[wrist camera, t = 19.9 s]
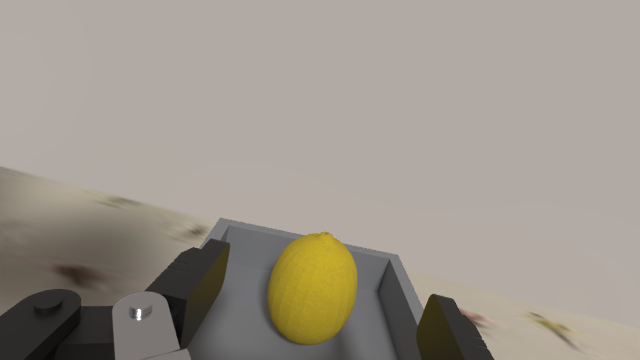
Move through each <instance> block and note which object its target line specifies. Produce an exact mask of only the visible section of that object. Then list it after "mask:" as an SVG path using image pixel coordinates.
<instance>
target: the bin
mask: <svg viewBox="0 0 640 360" xmlns="http://www.w3.org/2000/svg"><path fill="white" fill-rule="evenodd" d="M302 236H305V235H300V234H295V233H290V232H285V231H281V230H276V229H271V228H266V227H261V226H257V225H252V224H247V223H243V222H238V221H233V220H228V219H223V218H220V219H219V220H218V222H217V223H216V225H215V226H214V228H213V229H212V231H211V232H210V234H209V235H208V236H207V238H206V239H205V241H204V242H203V244H202V245H201V247H200V248H199V249H202V248H203V246H204V245H205V244H206V243H207V242H208V241H209V240H210V239H211V238H213V239H217V240H221V241H225V242H229V243H230V252H229V257H228V263H227V268H226V274H225V279H224V283H223V286H222V288H221V291H220V293H219V295H218V296H217V298H216V300H215V301H214V303H213V305H212V306H211V308H210V310H209V312H208V313H207V315H206V317H205V318H204V320H203V322H202V323H201V325H200V327H199V328H198V330H197V332H196V333H195V335H194V337H193V339H192V340H191V342H190V344H189V345H188V347H187V350H188V352H189V354H190V358H191V360H422V359H421V356H420V352H419V349H418V345H417V341H416V332H417V327H418V324H419V322H420V319H421V317H422V314H423V312H424V309H423V307H422V305H421V303H420V301H419V299H418V297H417V294H416V292H415V290H414V288H413V286H412V284H411V282H410V280H409V278H408V275H407V273H406V271H405V269H404V267H403V265H402V263H401V261H400V259H399V256H398V255H395V254H390V253H386V252H381V251H376V250H371V249H367V248H362V247H356V246H352V245H347V244H343V245H344V246H345V247H346V248H347V249H348V251H349V252H350V253H351V255H352V257H353V259H354V262H355V265H356V268H357V294H356V300H355V304H354V307H353V310H352V312H351V315H350V316H349V318H348V320H347V322H346V324H345V326H344V327H343V328H342V330H341V331H340V332H339V333H337V334H336V335H335V336H334V337H333V338H331V339H330V340H328V341H326V342H323V343H321V344H317V345H301V344H297V343H294V342H292V341H290V340H288V339H287V338H286V337H284V336H283V335H282V334H281V333H280V332H279V331H278V330H277V328H276V327H275V325H274V323H273V321H272V319H271V317H270V314H269V309H268V299H267V293H268V285H269V281H270V278H271V274H272V271H273V268H274V266H275V264H276V262H277V260H278V258H279V256H280V255H281V253H282V252H283V251H284V249H285V248H286V247H287V246H288V245H289V244H290V243H291V242H293V241H294V240H296V239H298V238H300V237H302Z"/></svg>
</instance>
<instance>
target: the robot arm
mask: <svg viewBox="0 0 640 360" xmlns="http://www.w3.org/2000/svg"><path fill="white" fill-rule="evenodd" d="M229 252H230V243H229V242H225V241H221V240H217V239H213V238H211V239H210V240H209V241H208V242H207V243H206V244H205V245H204V246H203V248H202V249H198V248H194V247H193V248H191V249H189V250H186V251H184V252H182V253H181V254H180V255H179V256H178V257H177V258H176V259H175V260H174V262H172V263H171V264H170V265H169V266H168V268H167V269H165V270H164V271H163V272H162V273H161V275H160V276H159V277H158V278H157V279H156V280H155V281H154V282H153V283H152V284H151V285H150V286H149V287H148V288H147V289H146V290H145V291H144V292H136V293H132V294H129V295H127V296H125V297H123V298H121V299H120V300H119V301H118V302H117V303H116V304H115V305H114V306H81V298H80V296H79V295H78V294H77V293H75V292H73V291H70V290H65V289H53V290H47V291H42V292H39V293H36V294H33V295H31V296H29V297H27V298H25V299H23V300H22V301H20V302H19V303H18V304H16V305H15V306H14V307H12V308H11V309H9V310H8V311H7V312H5V313H4V314H3V315H1V316H0V360H191V358H190V354H189V352H188V350H187V347H188V345H189V344H190V342H191V340H192V339H193V337H194V335H195V333H196V332H197V330H198V328H199V327H200V325H201V323H202V322H203V320H204V318H205V317H206V315H207V313H208V312H209V310H210V308H211V306H212V305H213V303H214V301H215V300H216V298H217V296H218V295H219V293H220V291H221V288H222V286H223V283H224V279H225V274H226V268H227V263H228V257H229ZM416 341H417V345H418V349H419V352H420V356H421V359H422V360H494V358H493V357H492V355H491V353H490V351H489V350H488V349H487V346H486V344H485V342H484V341H483V340H482V337H481V335H480V333H479V332H478V330H477V328H476V326H475V325H474V324H473V323H472V322H471V321H470V320H469V319H468V318H467V317H466V316H465V315H462V314H461V313H460V311H459V309H458V307H457V305H456V303H455V301H454V300H453V299H452V298H448V297H444V296H440V295H436V294H432V295H431V296H430V297H429V299H428V302H427V304H426V307H425V309H424V312H423V314H422V317H421V319H420V322H419V324H418V327H417V332H416Z"/></svg>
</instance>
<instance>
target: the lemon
mask: <svg viewBox="0 0 640 360" xmlns="http://www.w3.org/2000/svg"><path fill="white" fill-rule="evenodd" d="M356 294H357V268H356V265H355V262H354V259H353V257H352V255H351V253H350V252H349V251H348V249H347V248H346V247H345V246H344V245H343V244H342V243H341V242H340V241H339V240H337V239H335V238H333V236H332V234H330V233H328V232H322V233H320V234H309V235H305V236H302V237H300V238H298V239H296V240H294V241H293V242H291V243H290V244H289V245H288V246H287V247H286V248H285V249H284V251H283V252H282V253H281V255H280V256H279V258H278V260H277V262H276V264H275V266H274V268H273V271H272V274H271V278H270V281H269V285H268V293H267V299H268V309H269V314H270V317H271V319H272V321H273V323H274V325H275V327H276V328H277V330H278V331H279V332H280V333H281V334H282V335H283V336H284V337H286V338H287V339H288V340H290V341H292V342H294V343H297V344H301V345H317V344H321V343H323V342H326V341H328V340H330V339H331V338H333V337H334V336H335V335H336V334H337V333H339V332H340V331H341V330H342V328H343V327H344V326H345V324H346V322H347V320H348V318H349V316H350V315H351V312H352V310H353V307H354V304H355V300H356Z"/></svg>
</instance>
